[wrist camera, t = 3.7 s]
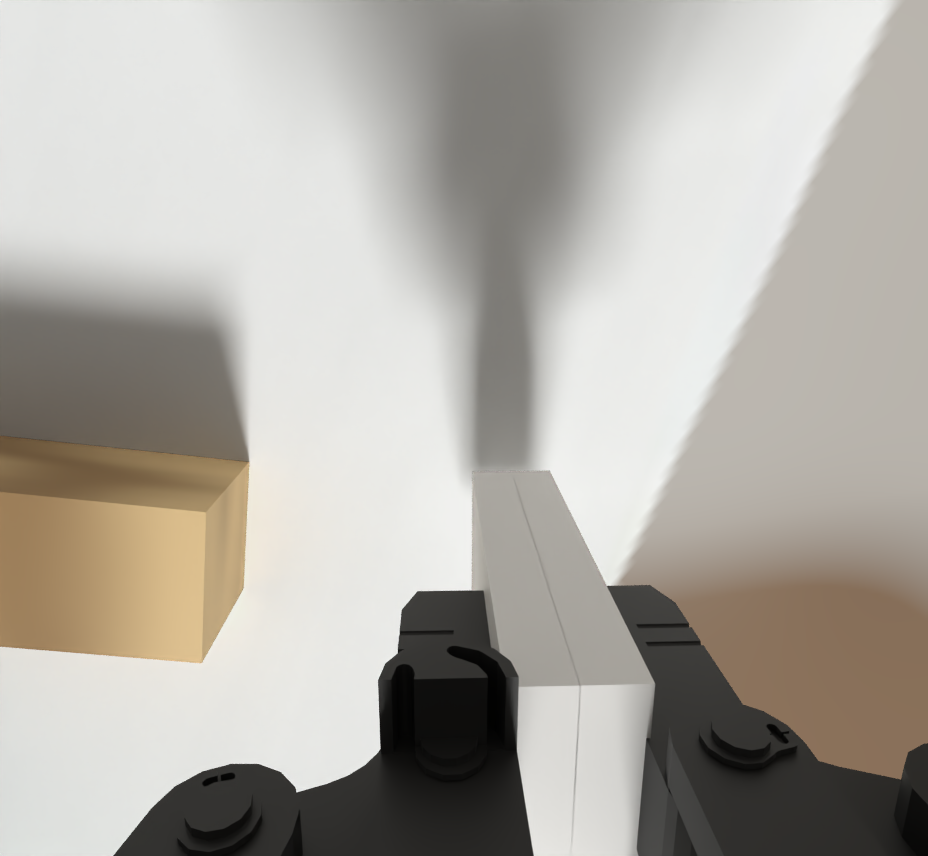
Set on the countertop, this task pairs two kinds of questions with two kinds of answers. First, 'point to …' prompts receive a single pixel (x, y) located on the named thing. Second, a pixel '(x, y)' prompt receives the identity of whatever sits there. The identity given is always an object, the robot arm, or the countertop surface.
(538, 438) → the countertop surface
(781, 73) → the countertop surface
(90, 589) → the tan rectangular bar
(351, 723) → the countertop surface
